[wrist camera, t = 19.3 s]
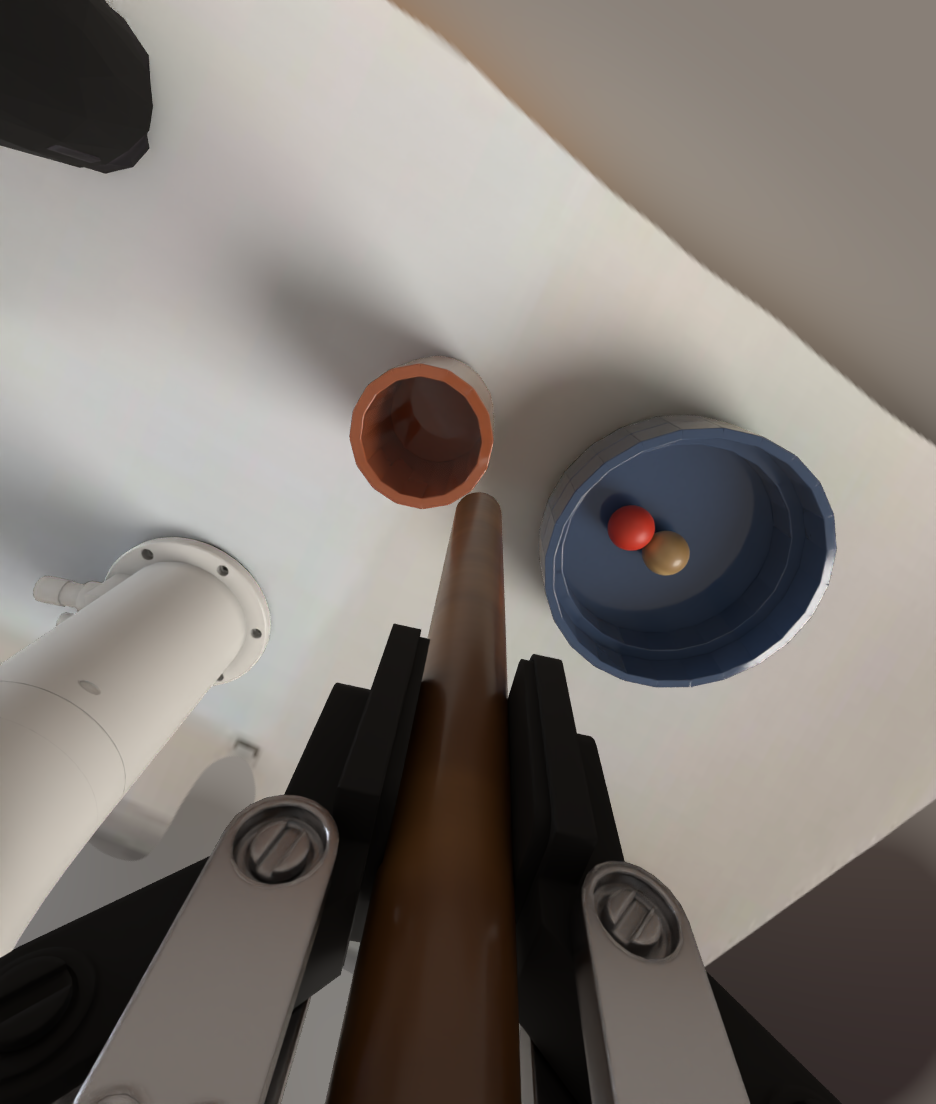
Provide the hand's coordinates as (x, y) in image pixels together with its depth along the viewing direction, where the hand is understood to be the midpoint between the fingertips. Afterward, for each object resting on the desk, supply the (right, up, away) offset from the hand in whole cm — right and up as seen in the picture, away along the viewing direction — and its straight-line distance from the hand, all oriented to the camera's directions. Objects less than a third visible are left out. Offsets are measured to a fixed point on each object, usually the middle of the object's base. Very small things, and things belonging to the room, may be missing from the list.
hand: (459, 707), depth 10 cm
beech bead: (+13, +3, +26) cm, 29 cm away
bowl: (+14, +4, +28) cm, 31 cm away
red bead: (+11, +5, +25) cm, 28 cm away
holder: (-2, +12, +25) cm, 28 cm away
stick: (+1, +5, +11) cm, 12 cm away
